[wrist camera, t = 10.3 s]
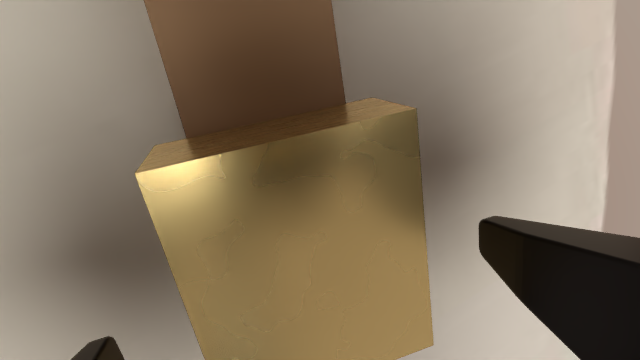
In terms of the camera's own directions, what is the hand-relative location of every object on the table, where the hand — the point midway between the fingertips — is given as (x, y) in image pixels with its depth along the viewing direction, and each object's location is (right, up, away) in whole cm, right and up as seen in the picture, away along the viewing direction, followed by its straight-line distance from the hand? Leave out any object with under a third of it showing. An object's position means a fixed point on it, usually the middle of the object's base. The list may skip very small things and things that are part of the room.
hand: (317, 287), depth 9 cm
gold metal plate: (-1, +1, +2) cm, 3 cm away
